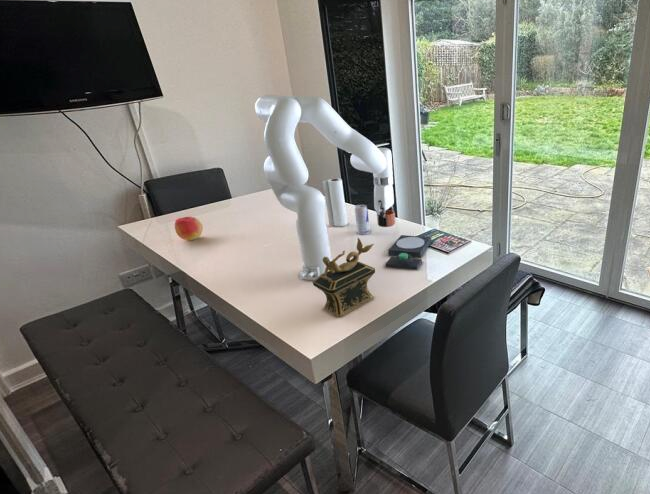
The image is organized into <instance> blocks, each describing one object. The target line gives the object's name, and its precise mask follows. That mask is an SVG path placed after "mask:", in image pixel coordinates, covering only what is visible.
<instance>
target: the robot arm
mask: <svg viewBox="0 0 650 494" xmlns="http://www.w3.org/2000/svg"><path fill="white" fill-rule="evenodd" d="M254 111H255V114H256V116H257V117H258V118H259V119H260V120H261V121H263V122H264V123H266V124H265V127H264V132H263V143H264V146H265V149H266V151H267V153H268V156H267V157H266V158H265V159H264V163H263V174H264V177H265V179H266V181H267V182H268V184H269V186H270V188H271V190H272V192H273V194H274V196H275V197H276V200H277V201H278V202H279V204H280V205H281V206H282V207H283V208H285V209H287V210H289V211H292V212H294V213H296V216H297V218H296V225H295V227H296V233H297V236H298V244H299V248H300V255H301V258H302V259H301V260H302V264H303V265H302V268H301V270H300V272H299V274H298V275H297V278H298V279H299V281H303V280H306V281H314V280H315V279H316V278H318V277H319V276H320V275H321V274H323V273H325V268H326V265H325V263H324V262H323V258H324V257H328V258H329V260H330V261H332V260H333V259H332V255H331V254H332V253H331V246H330V241H329V234H328V229H327V223H326V222H327V221H326V200H325V195H324V193H322V191H320V190H319V189H317V188H315V187H313V186H310V185H306V183H307V182H308V181H309V175H310V174H309V170H308V167H307V165H306V163H305V161H304V159H303V156H302V155H301V152H300V149H299V147H298V145H297V143H296V139H295V132H296V129H297V126H298V124H299V123H304V124H310V125H311V126H313V127H314V128H315V129H316V130H317V131H318V132H319V133H320V134H321V135H322V136H323V137H324V138H325V139H326V140H327V141H328V142H329V143H330V144H331V145H333V146H335V147H336V148H338V149H341V150H342V151H345V152H347V153H350V154H351V155H350V158H349V159H350V161H349V162H350V165H351V166H352V167H353V168H354V169H356V170H358V171H362V172H367V173H371V174H372V177H373V185H374V186H373V206H374V210H375V212H376V216H377V215H378V222H379V225H378V226H379V227H381V226H382V227H381V228H387V227H386V226H387V221H386V217H385V214H386V210H393V211H394V204H395V195H394V187H393V185H394V173H393V158H392V157H393V156H392V151H391V149H390V148H388V147H377V145H375V143H374V142H373V141H371V140H370V139H368V138H367V137H365V136H364V135H362V134H361V133H359V132H358V131H357V130H356V129H354V128H352V127H351V126H350V125H349V124H348V123H347V122H346V121H345V120H344V119H343V118H342V117H341V116H340V115H339V113H338V112H337V111H336V110H335V109H334V107H332V106H331V105H330V103H329V102H327V101H326V100H325V99H324V98H322V97H319V96H313V95H311V96H310V95H279V94H276V95H275V94H274V95H273V94H265V95H262V96H260V97H259V98H258V99H257V100H256V101H255V105H254ZM381 211H383V213H382V212H381ZM378 222H377V223H378ZM328 271H330V270H328Z"/></svg>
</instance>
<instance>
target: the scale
mask: <svg viewBox="0 0 650 494" xmlns="http://www.w3.org/2000/svg"><path fill="white" fill-rule="evenodd" d="M431 244H432V237H431V236H421V235H420V236H418V235H405V234H401V235H400V236H399V237H398V238H397V239H396V240H395V242H394V243H393V244H392V245H391V246H390V248H388V250H387V251H388V256H390V257H396V256H398V255H399V254H401V253H407V254H409V255H411V256H412V258H414V259H421V258H422V257H423V256H424V254H425V253H426V251H427V250H428V248H429V247H430V245H431Z"/></svg>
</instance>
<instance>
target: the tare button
mask: <svg viewBox="0 0 650 494" xmlns="http://www.w3.org/2000/svg"><path fill="white" fill-rule="evenodd" d="M399 259H400V260H406V259H408V254H407V253H401V254H399Z"/></svg>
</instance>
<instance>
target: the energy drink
mask: <svg viewBox="0 0 650 494" xmlns="http://www.w3.org/2000/svg"><path fill="white" fill-rule="evenodd" d="M354 215H355V224H356V230H357V234H359V235H367V234H369V233H370V232H371V228H370V227H371V226H370V219H369V209H368V206H367V204H356V205H355V206H354Z"/></svg>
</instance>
